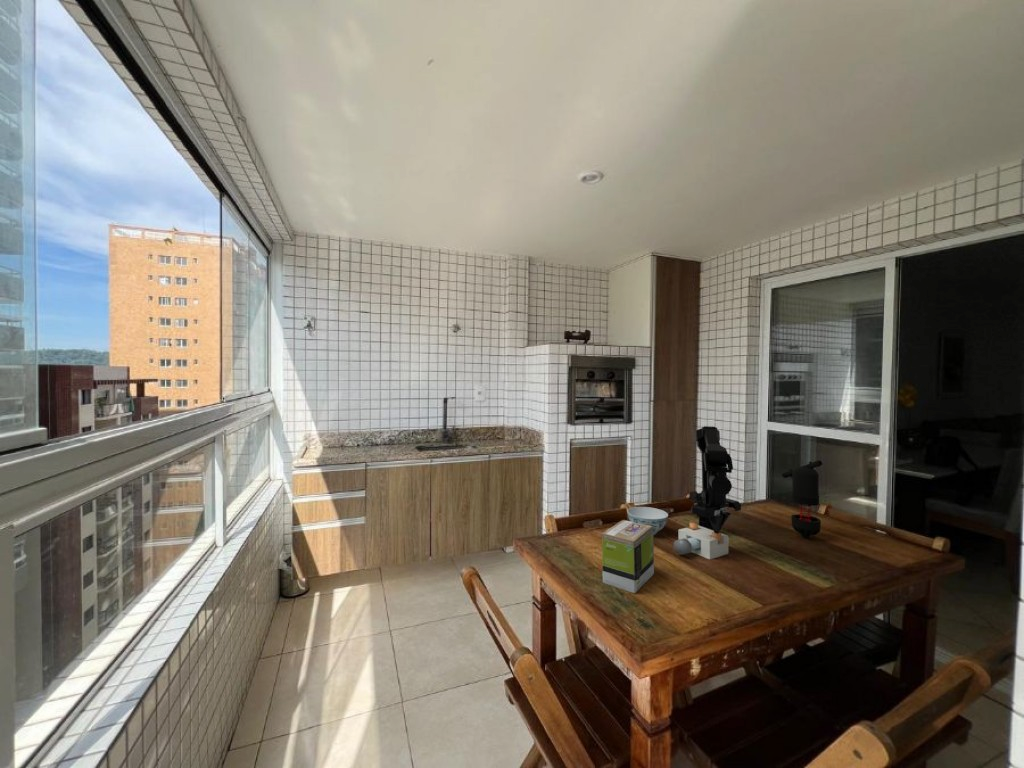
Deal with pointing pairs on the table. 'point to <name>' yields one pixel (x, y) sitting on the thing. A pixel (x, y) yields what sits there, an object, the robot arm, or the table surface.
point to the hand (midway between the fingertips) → (716, 533)
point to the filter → (805, 497)
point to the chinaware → (648, 517)
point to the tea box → (627, 555)
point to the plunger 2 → (717, 536)
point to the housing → (706, 542)
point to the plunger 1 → (693, 526)
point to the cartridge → (686, 545)
